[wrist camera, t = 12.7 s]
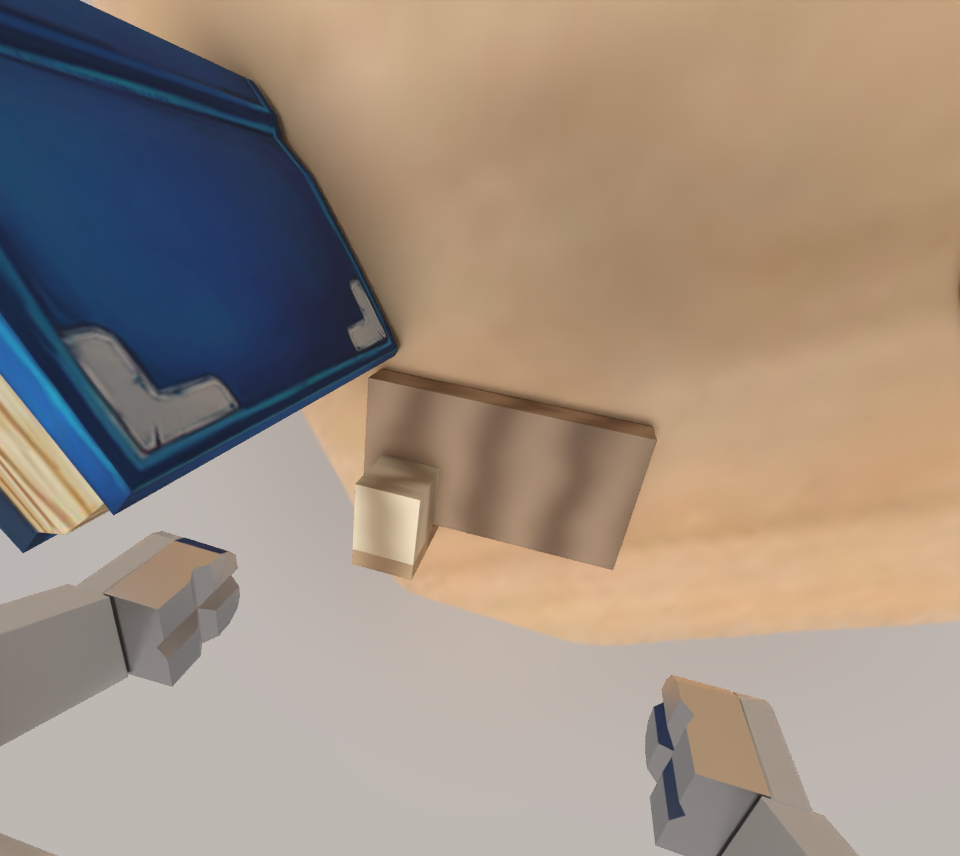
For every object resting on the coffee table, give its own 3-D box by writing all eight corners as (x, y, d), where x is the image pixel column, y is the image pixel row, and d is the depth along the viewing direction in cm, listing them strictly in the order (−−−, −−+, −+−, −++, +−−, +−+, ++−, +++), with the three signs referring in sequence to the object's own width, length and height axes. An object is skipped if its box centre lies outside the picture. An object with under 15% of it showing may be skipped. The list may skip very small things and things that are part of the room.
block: (447, 456, 41) (420, 500, 34) (438, 527, 44) (411, 580, 37) (392, 443, 41) (355, 484, 35) (386, 514, 44) (352, 563, 38)
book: (187, 116, 35) (-560, -86, 12) (258, 59, 32) (-515, -328, 10) (337, 381, 40) (19, 576, 18) (406, 350, 38) (138, 529, 16)
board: (652, 426, 36) (656, 440, 34) (611, 551, 41) (612, 570, 39) (381, 369, 39) (368, 377, 37) (373, 491, 44) (362, 506, 42)
